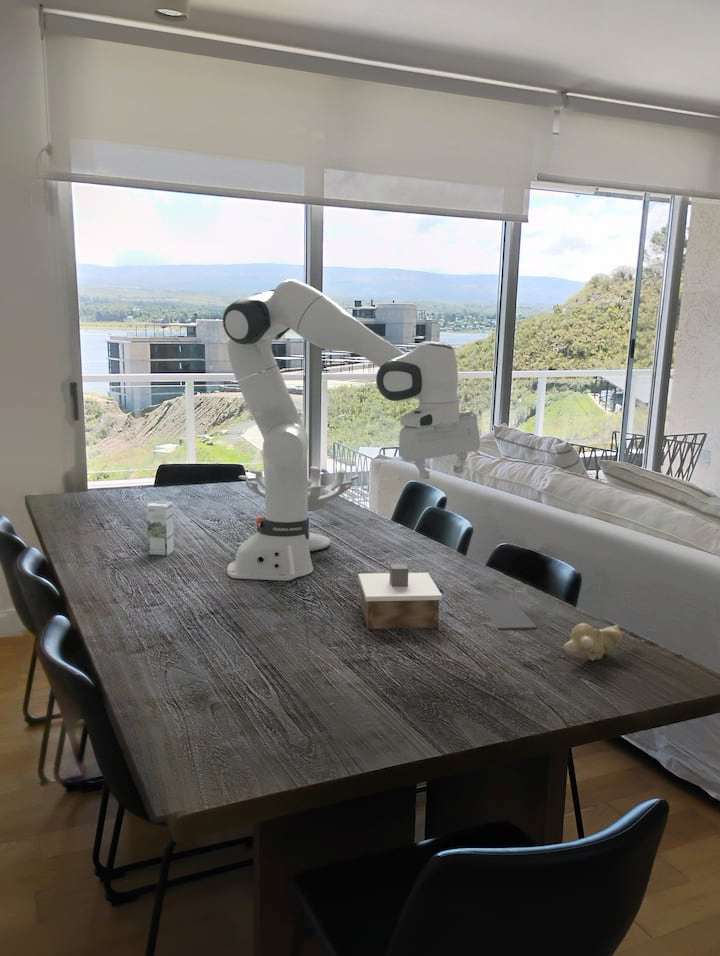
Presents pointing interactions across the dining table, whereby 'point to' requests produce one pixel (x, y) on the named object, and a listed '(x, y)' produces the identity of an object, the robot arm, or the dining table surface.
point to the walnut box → (400, 613)
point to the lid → (398, 585)
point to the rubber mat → (506, 614)
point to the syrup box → (160, 528)
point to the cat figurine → (593, 640)
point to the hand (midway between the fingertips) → (441, 475)
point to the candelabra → (311, 497)
